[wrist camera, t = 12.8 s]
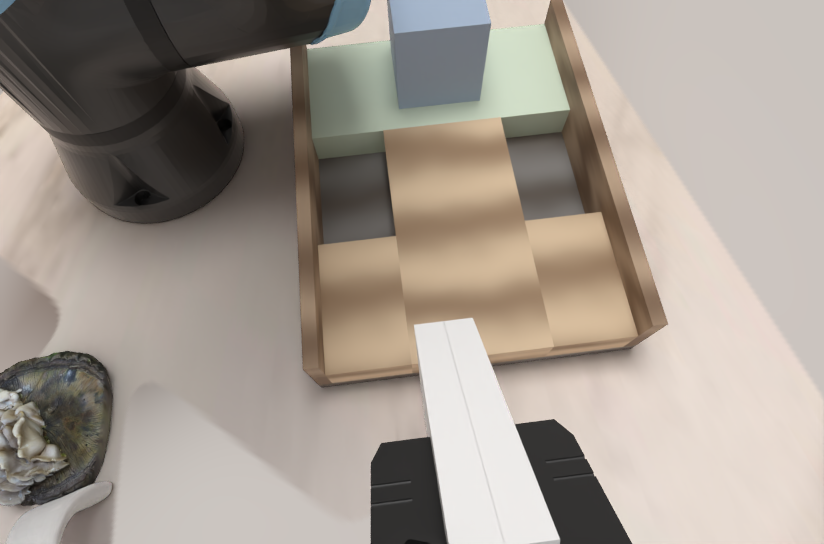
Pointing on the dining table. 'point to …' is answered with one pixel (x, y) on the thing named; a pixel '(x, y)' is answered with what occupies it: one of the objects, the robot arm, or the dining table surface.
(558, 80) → the pad
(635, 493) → the dining table surface
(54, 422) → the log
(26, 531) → the spoon rest
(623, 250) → the box
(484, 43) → the slate block
